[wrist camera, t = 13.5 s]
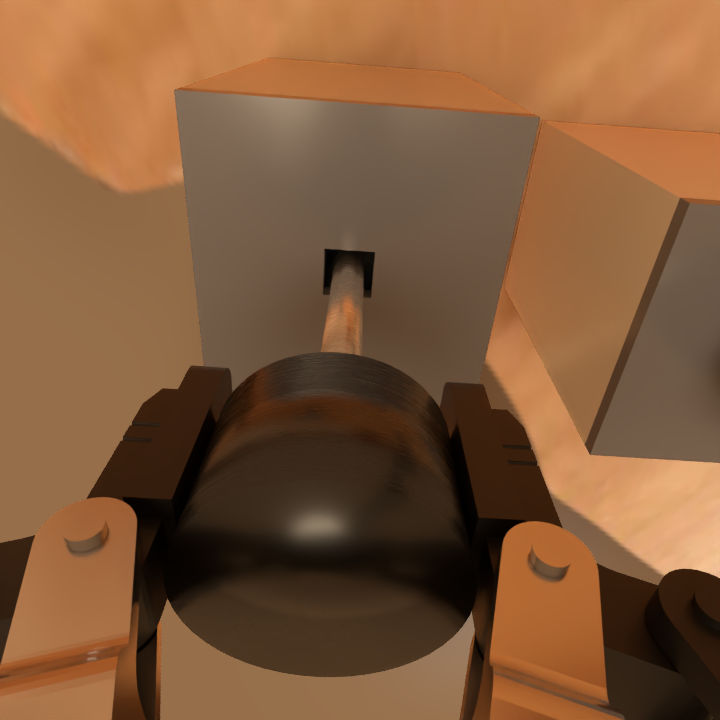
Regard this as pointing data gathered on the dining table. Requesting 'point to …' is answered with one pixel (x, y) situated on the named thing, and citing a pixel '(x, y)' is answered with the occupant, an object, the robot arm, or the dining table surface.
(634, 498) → the dining table surface
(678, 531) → the dining table surface
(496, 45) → the dining table surface
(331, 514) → the plunger
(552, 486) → the dining table surface
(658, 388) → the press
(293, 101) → the block
